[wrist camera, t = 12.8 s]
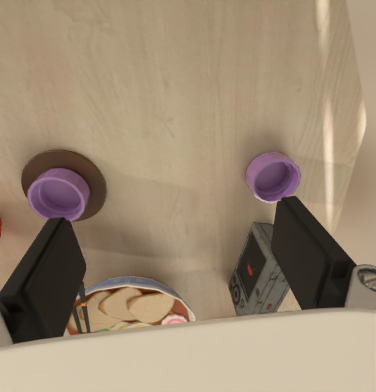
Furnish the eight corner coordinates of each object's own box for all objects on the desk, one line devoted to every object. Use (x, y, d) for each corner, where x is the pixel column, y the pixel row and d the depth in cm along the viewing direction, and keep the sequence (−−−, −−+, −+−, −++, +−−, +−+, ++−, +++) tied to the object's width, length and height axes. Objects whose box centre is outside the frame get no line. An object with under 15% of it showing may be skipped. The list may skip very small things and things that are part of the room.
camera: (244, 290, 50) (262, 340, 41) (226, 289, 49) (239, 340, 40) (274, 223, 42) (303, 267, 33) (252, 221, 41) (276, 265, 33)
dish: (246, 153, 35) (253, 161, 33) (293, 148, 36) (304, 156, 33) (244, 194, 39) (250, 205, 36) (287, 190, 39) (296, 200, 36)
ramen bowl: (186, 333, 55) (190, 375, 48) (77, 338, 52) (64, 382, 45) (199, 245, 43) (207, 283, 36) (58, 244, 40) (36, 285, 33)
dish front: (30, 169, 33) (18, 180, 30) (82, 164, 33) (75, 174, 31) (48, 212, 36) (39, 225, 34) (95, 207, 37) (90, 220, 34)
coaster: (9, 153, 32) (7, 155, 32) (95, 145, 33) (94, 147, 32) (40, 223, 38) (38, 225, 37) (114, 215, 38) (113, 217, 38)
